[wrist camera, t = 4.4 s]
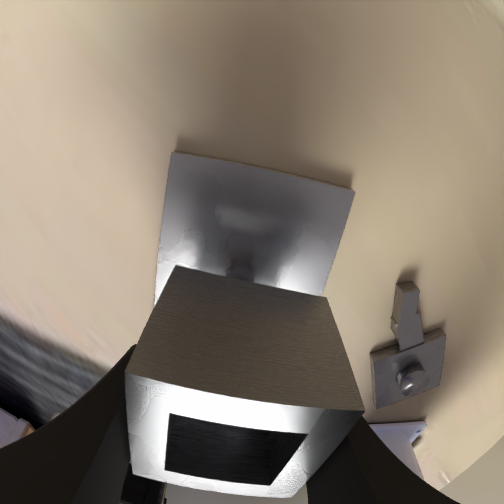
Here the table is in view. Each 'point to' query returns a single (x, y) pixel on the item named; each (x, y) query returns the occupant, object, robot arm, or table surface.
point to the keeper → (250, 223)
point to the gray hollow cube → (237, 387)
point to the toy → (135, 487)
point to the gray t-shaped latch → (407, 353)
